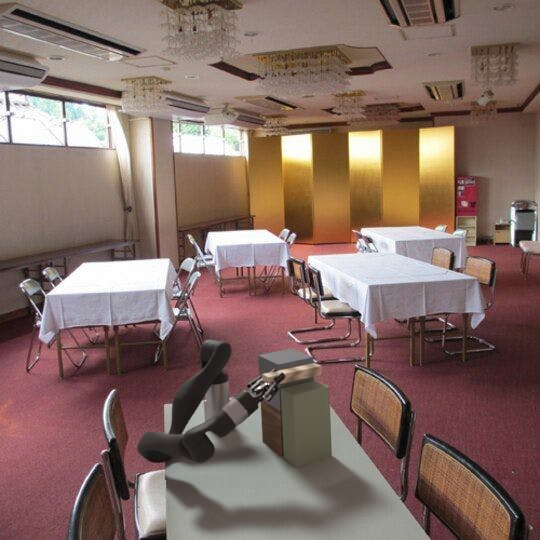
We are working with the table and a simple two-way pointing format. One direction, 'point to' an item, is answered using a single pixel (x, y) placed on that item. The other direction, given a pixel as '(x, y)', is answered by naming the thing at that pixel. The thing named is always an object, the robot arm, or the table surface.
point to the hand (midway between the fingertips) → (280, 372)
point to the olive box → (306, 422)
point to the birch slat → (294, 373)
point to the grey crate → (281, 362)
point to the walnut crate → (272, 427)
